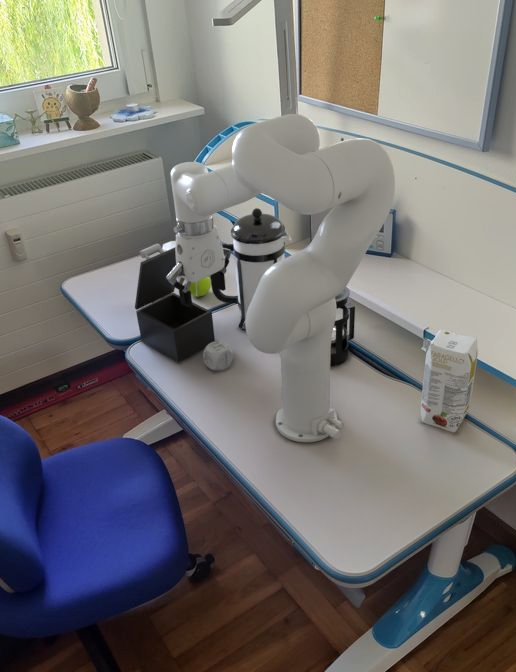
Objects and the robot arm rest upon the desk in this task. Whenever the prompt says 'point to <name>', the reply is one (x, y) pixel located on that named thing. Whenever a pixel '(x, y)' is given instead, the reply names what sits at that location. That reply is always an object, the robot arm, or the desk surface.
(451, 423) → the juice carton
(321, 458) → the desk surface
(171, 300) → the hinged black storage box
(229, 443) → the desk surface
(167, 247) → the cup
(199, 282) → the tennis ball
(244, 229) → the coffee press
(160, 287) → the lid
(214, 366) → the die
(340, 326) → the french press
